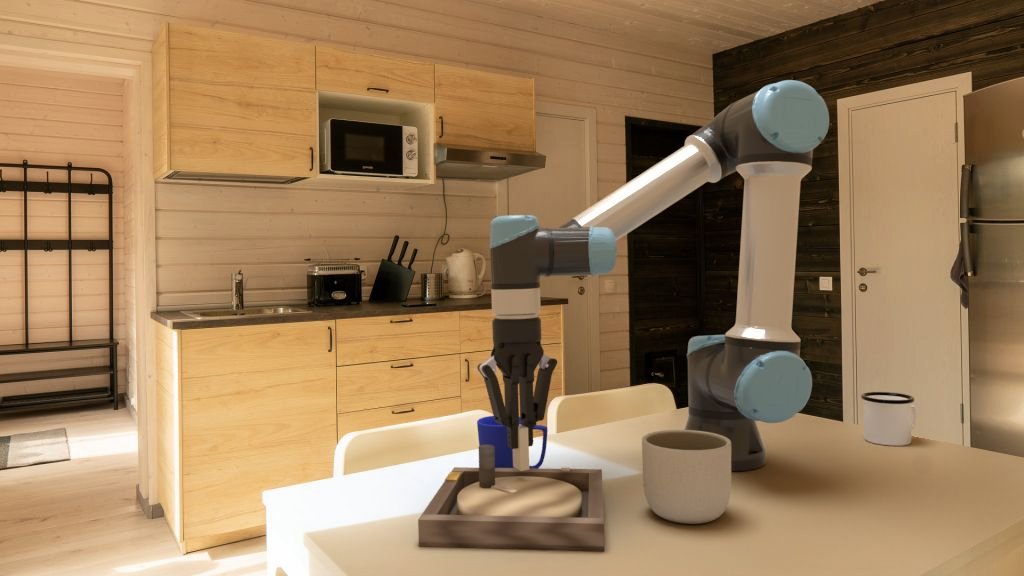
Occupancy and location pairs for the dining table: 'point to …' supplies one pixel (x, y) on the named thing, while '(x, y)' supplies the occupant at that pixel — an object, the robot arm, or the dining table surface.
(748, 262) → the robot arm
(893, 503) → the dining table surface
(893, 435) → the mug
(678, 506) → the planter
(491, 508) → the dial
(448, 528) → the brown wooden tray
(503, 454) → the mug
